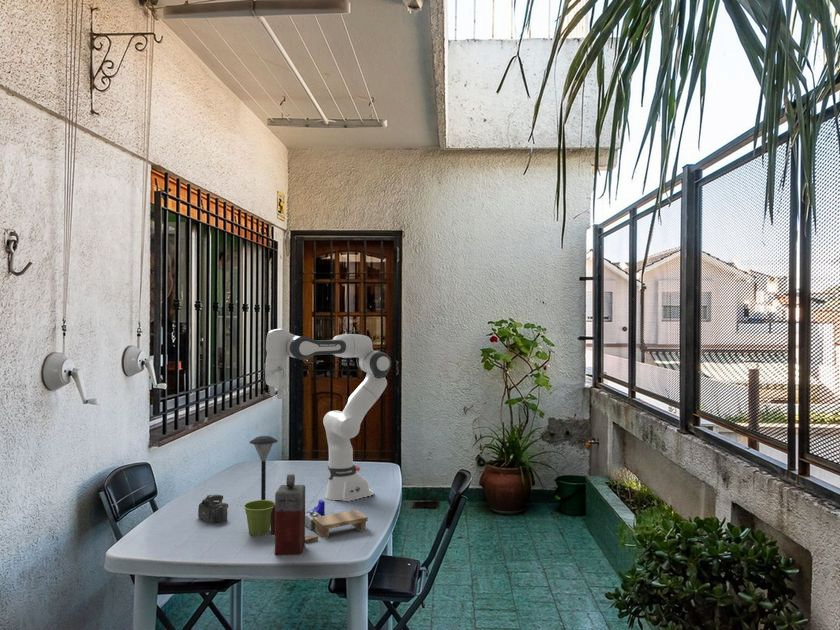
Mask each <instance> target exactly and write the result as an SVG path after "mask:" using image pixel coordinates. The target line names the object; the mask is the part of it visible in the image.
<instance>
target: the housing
mask: <svg viewBox="0 0 840 630" xmlns="http://www.w3.org/2000/svg"><path fill="white" fill-rule="evenodd" d="M309 511H310V513H307V512H305V513H306V514H305V528H306V527H307V529H309V530H310V531H315V522H313V517H319V516H321V515H320V514H318V513H317V512H314V511H311V510H309Z"/></svg>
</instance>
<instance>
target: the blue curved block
mask: <svg viewBox="0 0 840 630" xmlns="http://www.w3.org/2000/svg"><path fill="white" fill-rule="evenodd" d="M325 504H326V502H325V500H323V499H319V500H318V504H317V506H314V507H313V509H310V510H308V511H306V512H305V514H306V513H310V511H314V512H317V513H318V514H320V515H322V516H324V515H326V514H325V513H326V512H325V508H326V507H325Z"/></svg>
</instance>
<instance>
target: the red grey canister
mask: <svg viewBox="0 0 840 630" xmlns="http://www.w3.org/2000/svg"><path fill="white" fill-rule="evenodd" d="M295 477H296V476H295V474H290V473H289V474H287V475H286V482H285V483H286V484H281V485H279V487H278V489H277V490H276V492H275V495H274V496H275V497H274V502H275V504H274V506H273V508H272V511H271V525H270V536H274V556H302V554H303V551H304V550H305V547H306V543H305V536H306V526H305V513H306V486H305V484H295Z"/></svg>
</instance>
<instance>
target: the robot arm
mask: <svg viewBox="0 0 840 630" xmlns="http://www.w3.org/2000/svg"><path fill="white" fill-rule="evenodd" d="M372 341H373V340H372V339H371V338H370V337H369V336H367V335H364V334H359V333H358V334H357V333H353V334H352V333H343V334H338V335H335V336H334V337H333V338H332V339H326V340H323V339H321V340H315V339H312V338H311V337H308V336H303V335H302V336H299V335H295V334H294V333H291V332H289V331H287V330H286V329H285V328H274V329H271V330H270V331H268V332H267V335H266V341H265V342H266V343H265V350H266V356H265V363H264V364H263V369H265V371H264V374H265V375H264V378H265V385H267V386H269V392H270V397H276V399H278V400H282V399H283V393H284V390H286V389H287V388H288V379H287V378H288V377H287V371H286V370H287V363H288V360H287V358H288V357H291V358H294V359H298V360H300V361H301V360H302V361H305V360H308V359H311V358H312V357H314V356H319V355H320V356H321V355H333V356H335V357H339V358H348V359H349V358H355V359H356V361H355V362H356V366H357V368H358V369H359V370H360V371H362V372H364V373H366V375H365V378H364V379H363V381H362V382H361V383H360V384H359V385H358V386H357V388H356V389H354V391H353V392H352V393H351V394H350V396H348V399H347V403H346V405H345V407H344V408H343V410H342V411H340V410H330V411H327V413H325V415H324V417H323V419H322V420H323V421H322V422H323V426H324V429H325V435H326V436H325V437H326V440H327V445H328V446H327V447H328V466H327V487H326V490H325V491H326V492H325V494H324V495H325V496H324V498H325V499H326V500H330V501H335V500H343V501H342V502H345V501H349V502H351V501H350V500H353V501H355V500H354V499H357V500H359V499H358V498H361V499H363V498H362V497H365V498H367V497H366V496H369V497H372V496H371V495H373V494H374V493H375V492H374V491H373V490H372V489H371V488H369V483H368V481H367V479H365V478H364V477H363V476H362V475H361V474H359V473H358V472H360V470H361V467H359V466H356V465H354V464H353V463H354V462H353V461H354V460H353V457H354V455H353V454H354V448H353V445H352V443H351V439H353V438H355V437H356V436H358V434H359V433H360V429H361V424H362V421H363V420H364V418H365V416H366V415H367V413H368V411H369V410H370V409H371V408H372V407H373V406H374V404H375V403H376V402H377V401H378V400H379V398H380V397H381V395H382V394H384V393H383V392H384V391H385V390H386V388H387V386H388V380H387V379H386V377H387V376H388V374H389V372H390V369H391V367H392V359H391V357H390V356H389V355H388V354H387V353H385V352H384V351H379V350H374V348H373V342H372ZM276 390H277V394H276ZM373 496H374V495H373Z"/></svg>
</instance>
